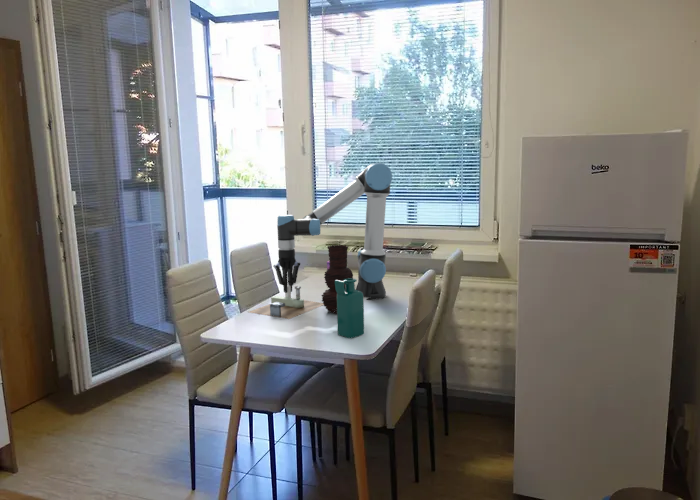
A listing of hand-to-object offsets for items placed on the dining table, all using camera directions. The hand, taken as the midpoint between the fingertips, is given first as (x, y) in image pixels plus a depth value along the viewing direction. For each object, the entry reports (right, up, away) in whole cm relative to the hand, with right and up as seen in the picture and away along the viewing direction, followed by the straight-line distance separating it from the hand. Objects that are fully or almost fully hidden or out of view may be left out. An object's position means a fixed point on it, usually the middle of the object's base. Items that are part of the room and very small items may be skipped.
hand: (288, 298), depth 259 cm
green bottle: (+29, -10, -44) cm, 53 cm away
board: (+1, -5, -8) cm, 9 cm away
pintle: (+5, 0, -8) cm, 10 cm away
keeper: (-2, -5, -20) cm, 21 cm away
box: (+22, +5, +46) cm, 51 cm away
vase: (+24, -6, -15) cm, 29 cm away
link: (0, -2, -5) cm, 5 cm away
